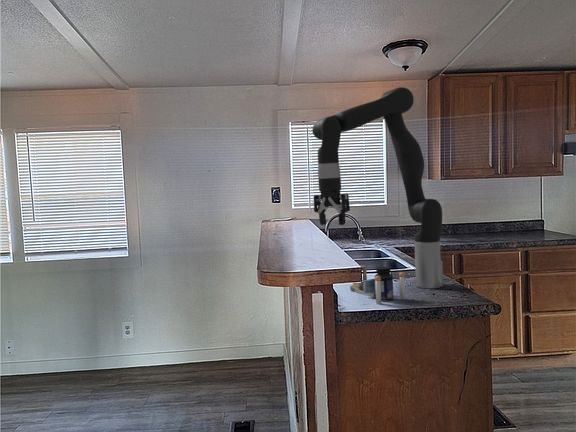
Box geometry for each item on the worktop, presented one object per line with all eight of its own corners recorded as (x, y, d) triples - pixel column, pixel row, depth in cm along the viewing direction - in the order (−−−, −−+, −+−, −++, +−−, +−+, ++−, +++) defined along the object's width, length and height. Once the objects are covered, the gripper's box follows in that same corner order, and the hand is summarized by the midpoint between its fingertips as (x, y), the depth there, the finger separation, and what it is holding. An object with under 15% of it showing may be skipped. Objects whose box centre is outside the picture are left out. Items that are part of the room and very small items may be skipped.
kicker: (365, 285, 171) (365, 264, 171) (384, 290, 161) (383, 268, 161) (347, 288, 168) (347, 266, 167) (365, 293, 158) (364, 271, 157)
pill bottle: (391, 296, 158) (390, 265, 157) (395, 301, 152) (394, 268, 151) (373, 297, 157) (372, 266, 157) (377, 302, 151) (376, 269, 151)
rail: (360, 289, 172) (359, 284, 172) (382, 296, 159) (382, 291, 159) (350, 290, 170) (350, 286, 170) (372, 297, 157) (372, 292, 157)
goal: (403, 298, 155) (402, 271, 154) (407, 299, 153) (406, 272, 152) (374, 303, 150) (373, 275, 149) (378, 304, 148) (377, 276, 147)
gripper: (352, 175, 150) (355, 223, 151) (321, 178, 160) (324, 223, 161) (337, 176, 145) (341, 226, 146) (306, 178, 155) (309, 225, 156)
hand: (332, 224), depth 153 cm, fingers open, 8 cm apart
